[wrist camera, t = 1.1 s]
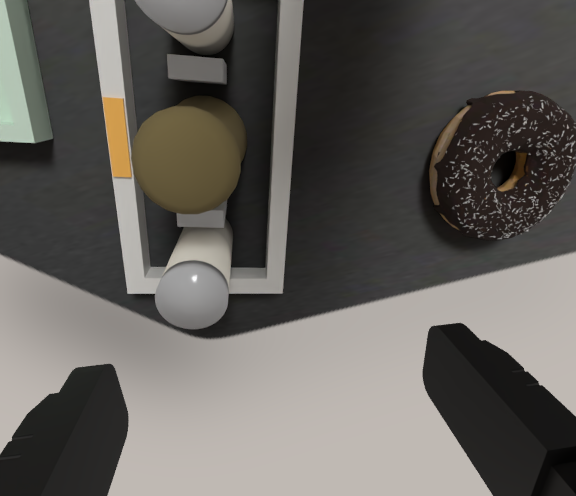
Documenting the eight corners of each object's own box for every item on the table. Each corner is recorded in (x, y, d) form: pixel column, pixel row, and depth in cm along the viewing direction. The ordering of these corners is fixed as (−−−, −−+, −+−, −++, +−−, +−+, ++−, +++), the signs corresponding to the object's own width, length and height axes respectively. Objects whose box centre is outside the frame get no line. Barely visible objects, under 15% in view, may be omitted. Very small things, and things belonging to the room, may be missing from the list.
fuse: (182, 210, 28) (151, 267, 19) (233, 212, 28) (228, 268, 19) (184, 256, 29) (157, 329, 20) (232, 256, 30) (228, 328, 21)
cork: (210, 196, 27) (191, 255, 17) (145, 139, 25) (82, 169, 15) (264, 140, 26) (277, 169, 16) (201, 75, 24) (171, 62, 14)
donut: (558, 77, 27) (607, 75, 24) (539, 218, 32) (576, 234, 28) (421, 104, 27) (449, 106, 23) (422, 243, 32) (446, 262, 28)
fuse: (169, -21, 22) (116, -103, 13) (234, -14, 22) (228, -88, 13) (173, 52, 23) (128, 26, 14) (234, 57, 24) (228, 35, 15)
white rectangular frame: (91, -81, 20) (47, -131, 16) (302, -52, 22) (318, -91, 17) (134, 281, 30) (115, 315, 25) (280, 281, 31) (286, 313, 27)
